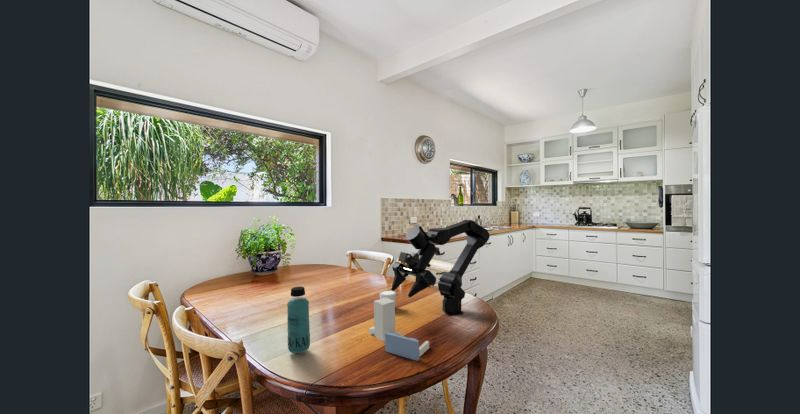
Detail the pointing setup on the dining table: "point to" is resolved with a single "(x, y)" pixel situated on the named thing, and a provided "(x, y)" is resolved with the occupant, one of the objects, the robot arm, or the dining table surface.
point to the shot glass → (388, 295)
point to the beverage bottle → (298, 321)
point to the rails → (371, 331)
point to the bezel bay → (404, 346)
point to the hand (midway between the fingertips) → (400, 293)
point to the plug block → (384, 317)
